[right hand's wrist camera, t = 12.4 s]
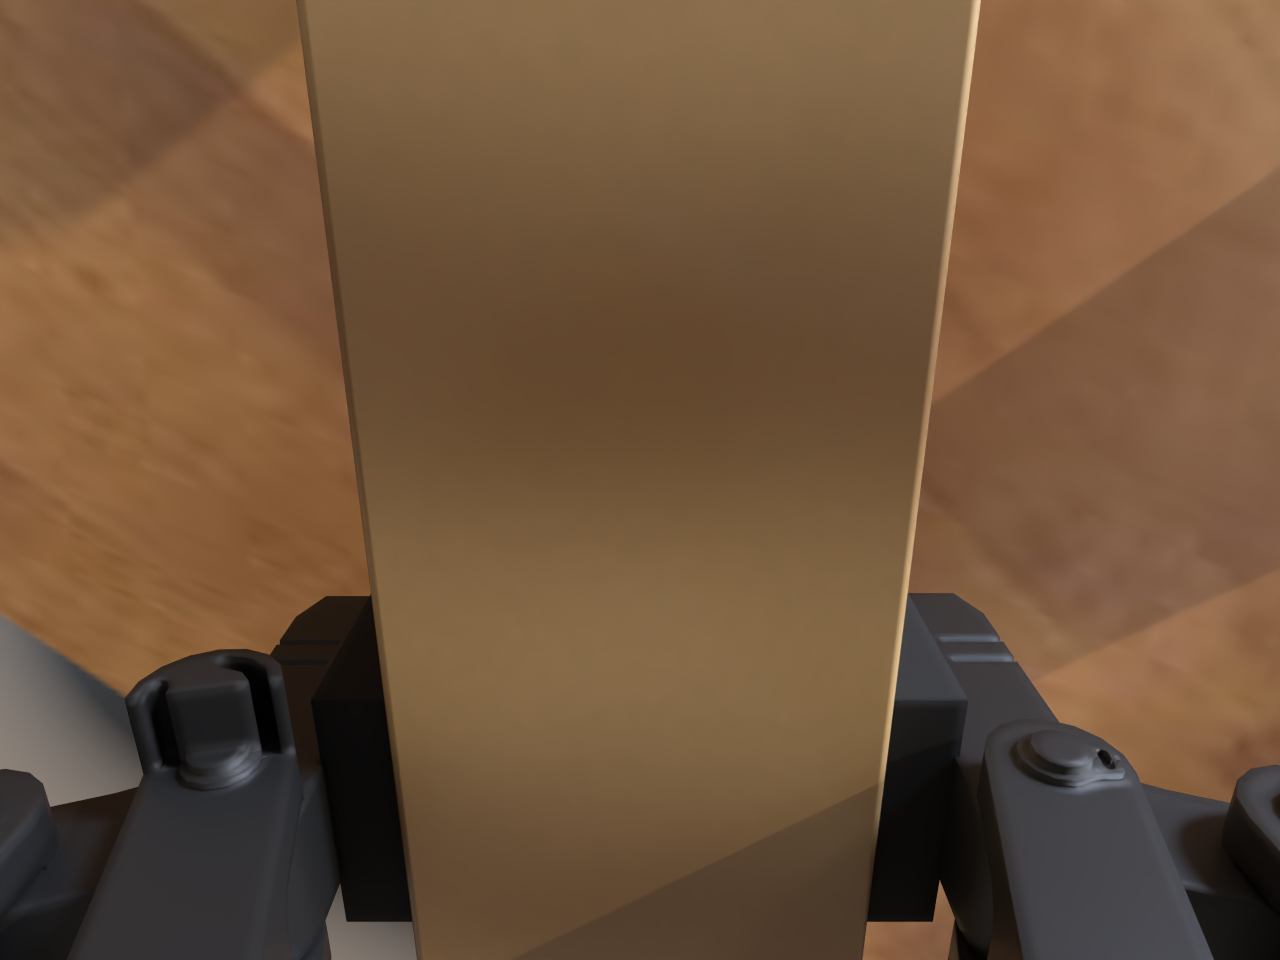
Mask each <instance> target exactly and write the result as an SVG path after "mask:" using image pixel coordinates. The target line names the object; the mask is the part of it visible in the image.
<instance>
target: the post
mask: <svg viewBox="0 0 1280 960" xmlns="http://www.w3.org/2000/svg"><path fill="white" fill-rule="evenodd" d="M296 1H297V9H298V17H299V25H300V33H301V41H302V49H303V57H304V65H305V73H306V81H307V89H308V96H309V104H310V112H311V120H312V128H313V136H314V144H315V152H316V160H317V168H318V176H319V184H320V192H321V200H322V208H323V216H324V224H325V231H326V239H327V247H328V255H329V263H330V271H331V279H332V287H333V295H334V303H335V311H336V319H337V327H338V335H339V343H340V351H341V359H342V366H343V374H344V382H345V390H346V398H347V406H348V414H349V422H350V430H351V438H352V446H353V454H354V462H355V470H356V478H357V486H358V494H359V501H360V509H361V517H362V525H363V533H364V541H365V549H366V557H367V565H368V573H369V581H370V589H371V597H372V605H373V613H374V621H375V629H376V636H377V644H378V652H379V660H380V668H381V676H382V684H383V692H384V700H385V708H386V716H387V724H388V732H389V740H390V748H391V756H392V764H393V771H394V779H395V787H396V795H397V803H398V811H399V819H400V827H401V835H402V843H403V851H404V859H405V867H406V875H407V883H408V891H409V899H410V906H411V914H412V922H413V930H414V938H415V946H416V954H417V960H862V958H863V950H864V942H865V933H866V925H867V917H868V909H869V901H870V893H871V885H872V877H873V869H874V861H875V853H876V844H877V836H878V828H879V820H880V812H881V804H882V796H883V788H884V780H885V772H886V764H887V755H888V747H889V739H890V731H891V723H892V715H893V707H894V699H895V691H896V683H897V675H898V666H899V658H900V650H901V642H902V634H903V626H904V618H905V610H906V602H907V594H908V586H909V577H910V569H911V561H912V553H913V545H914V537H915V529H916V521H917V513H918V505H919V497H920V488H921V480H922V472H923V464H924V456H925V448H926V440H927V432H928V424H929V416H930V408H931V400H932V391H933V383H934V375H935V367H936V359H937V351H938V343H939V335H940V327H941V319H942V311H943V302H944V294H945V286H946V278H947V270H948V262H949V254H950V246H951V238H952V230H953V222H954V213H955V205H956V197H957V189H958V181H959V173H960V165H961V157H962V149H963V141H964V133H965V124H966V116H967V108H968V100H969V92H970V84H971V76H972V68H973V60H974V52H975V44H976V35H977V27H978V19H979V11H980V3H981V0H296Z"/></svg>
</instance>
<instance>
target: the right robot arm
mask: <svg viewBox="0 0 1280 960" xmlns="http://www.w3.org/2000/svg"><path fill="white" fill-rule="evenodd" d="M125 703H126V707H127V711H128V715H129V719H130V723H131V727H132V731H133V734H134V738H135V742H136V746H137V750H138V754H139V758H140V762H141V766H142V770H143V774H144V775H143V777H142V779H141V782H140V784H139V787H136V788H132V789H129V790H125V791H122V792H118V793H114V794H109V795H104V796H100V797H95V798H90V799H86V800H81V801H76V802H71V803H67V804H62V805H57V806H53V807H50V805H49V802H48V799H47V796H46V792H45V789H44V786H43V783H41V782H40V781H39V780H38V779H36V778H35V777H34V776H33V775H32V774H30V773H27V772H21V771H15V770H9V769H1V770H0V960H331V951H330V945H329V939H328V933H327V927H326V921H325V920H326V917H327V915H328V912H329V910H330V907H331V905H332V902H333V899H334V897H335V894H336V892H337V889H338V887H339V884H341V890H342V896H343V902H344V908H345V914H346V920H347V922H412V914H411V906H410V899H409V891H408V883H407V875H406V867H405V859H404V851H403V843H402V835H401V827H400V819H399V811H398V803H397V795H396V787H395V779H394V771H393V764H392V756H391V748H390V740H389V732H388V724H387V716H386V708H385V700H384V692H383V684H382V676H381V668H380V660H379V652H378V644H377V636H376V629H375V621H374V613H373V605H372V597H371V595H370V596H326V597H324V598H323V599H322V600H320V601H319V602H317V603H316V604H314V605H313V606H311V607H310V608H308V609H307V610H305V611H304V612H302V613H301V614H299V615H298V616H297V617H296V618H295V619H294V621H293V622H292V624H291V625H290V627H289V628H288V629H287V631H286V632H285V634H284V635H283V637H282V638H281V640H280V645H276V647H275V648H274V650H273V651H272V653H271V654H270V655H268V654H265V653H261V652H256V651H252V650H248V649H223V650H215V651H210V652H205V653H200V654H196V655H191V656H188V657H185V658H183V659H180V660H178V661H175V662H173V663H170V664H168V665H165V666H163V667H161V668H159V669H158V670H156V671H154V672H153V673H151V674H150V675H148V676H147V677H145V678H144V679H142V680H141V681H139V682H138V683H137V684H136V685H135V687H134V688H133V689H132V690H131V691H130V693H129V694H128V695H127V696H126V697H125ZM939 880H940V881H941V884H942V886H943V889H944V891H945V894H946V897H947V899H948V902H949V904H950V907H951V909H952V912H953V914H954V917H955V921H954V927H953V933H952V938H951V944H950V950H949V956H948V960H1280V766H1279V765H1272V766H1266V767H1259V768H1253V769H1250V770H1249V771H1248V772H1246V773H1245V774H1244V775H1243V776H1242V777H1240V778H1239V779H1238V780H1237V783H1236V786H1235V790H1234V793H1233V796H1232V799H1231V803H1227V802H1222V801H1217V800H1212V799H1208V798H1203V797H1198V796H1193V795H1189V794H1184V793H1179V792H1174V791H1169V790H1165V789H1161V788H1158V787H1154V786H1150V785H1147V784H1143V783H1140V780H1139V778H1138V775H1137V773H1136V772H1135V770H1134V769H1133V768H1132V766H1131V765H1130V763H1129V762H1128V761H1127V759H1126V758H1125V756H1124V755H1123V754H1122V753H1120V752H1119V751H1118V750H1116V749H1115V748H1114V747H1112V746H1111V745H1110V744H1108V743H1107V742H1106V741H1104V740H1103V739H1102V738H1099V737H1097V736H1095V735H1093V734H1091V733H1088V732H1086V731H1084V730H1082V729H1079V728H1077V727H1075V726H1071V725H1067V724H1063V723H1059V721H1058V720H1057V718H1056V717H1055V716H1054V714H1053V713H1052V711H1051V710H1050V708H1049V707H1048V706H1047V704H1046V703H1045V701H1044V700H1043V698H1042V697H1041V696H1040V694H1039V693H1038V691H1037V690H1036V688H1035V687H1034V685H1033V684H1032V683H1031V681H1030V680H1029V678H1028V677H1027V675H1026V674H1025V673H1024V671H1023V670H1022V668H1021V667H1020V665H1019V664H1018V663H1017V662H1014V660H1013V655H1012V654H1011V652H1010V651H1009V650H1008V648H1007V647H1006V645H1005V644H1004V642H1000V637H999V635H998V634H997V632H996V631H995V630H994V628H993V627H992V625H991V624H990V622H989V621H988V619H987V618H986V617H985V615H984V614H983V613H982V612H980V611H979V610H977V609H976V608H974V607H973V606H971V605H970V604H968V603H967V602H965V601H964V600H962V599H961V598H959V597H958V596H957V595H955V594H954V593H908V594H907V602H906V610H905V618H904V626H903V634H902V642H901V650H900V658H899V666H898V675H897V683H896V691H895V699H894V707H893V715H892V723H891V731H890V739H889V747H888V755H887V764H886V772H885V780H884V788H883V796H882V804H881V812H880V820H879V828H878V836H877V844H876V853H875V861H874V869H873V877H872V885H871V893H870V901H869V909H868V917H867V922H933V917H934V911H935V904H936V898H937V892H938V886H939Z"/></svg>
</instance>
